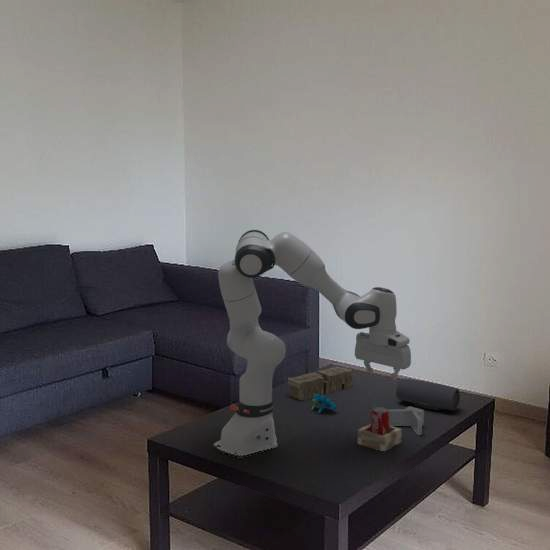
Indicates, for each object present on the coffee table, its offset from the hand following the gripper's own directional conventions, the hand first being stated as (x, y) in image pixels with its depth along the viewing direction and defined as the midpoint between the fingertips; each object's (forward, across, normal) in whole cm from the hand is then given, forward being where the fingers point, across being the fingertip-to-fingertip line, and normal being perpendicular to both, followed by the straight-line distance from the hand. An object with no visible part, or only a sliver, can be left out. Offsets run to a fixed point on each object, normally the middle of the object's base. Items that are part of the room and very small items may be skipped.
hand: (381, 376), depth 242 cm
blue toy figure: (+24, -33, +12) cm, 42 cm away
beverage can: (+24, 0, 0) cm, 24 cm away
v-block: (+24, 0, +19) cm, 30 cm away
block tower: (+24, -48, +28) cm, 61 cm away
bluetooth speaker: (+24, -6, +42) cm, 49 cm away
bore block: (+24, 0, 0) cm, 24 cm away
